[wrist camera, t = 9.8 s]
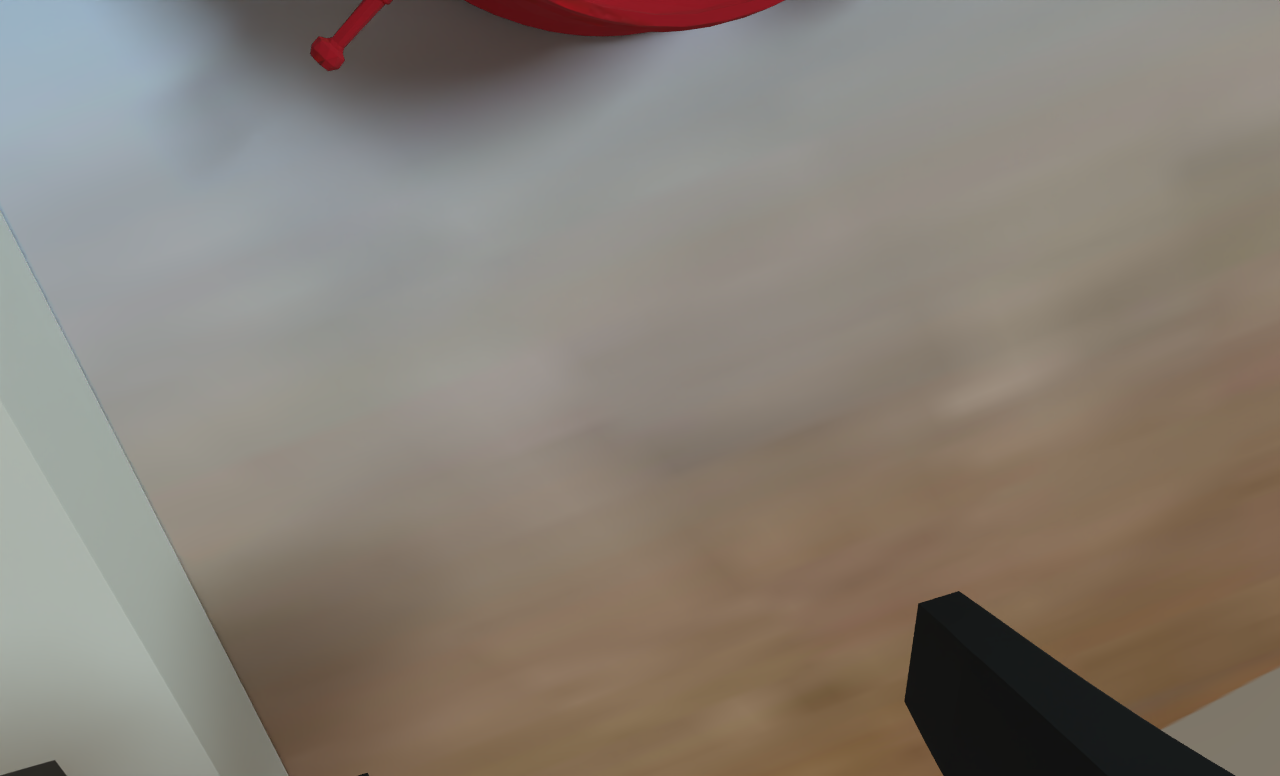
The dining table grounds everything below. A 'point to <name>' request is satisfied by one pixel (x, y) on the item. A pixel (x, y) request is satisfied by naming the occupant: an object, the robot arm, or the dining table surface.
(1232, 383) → the dining table surface
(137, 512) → the socket block
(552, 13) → the alarm clock
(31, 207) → the dining table surface
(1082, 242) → the dining table surface
